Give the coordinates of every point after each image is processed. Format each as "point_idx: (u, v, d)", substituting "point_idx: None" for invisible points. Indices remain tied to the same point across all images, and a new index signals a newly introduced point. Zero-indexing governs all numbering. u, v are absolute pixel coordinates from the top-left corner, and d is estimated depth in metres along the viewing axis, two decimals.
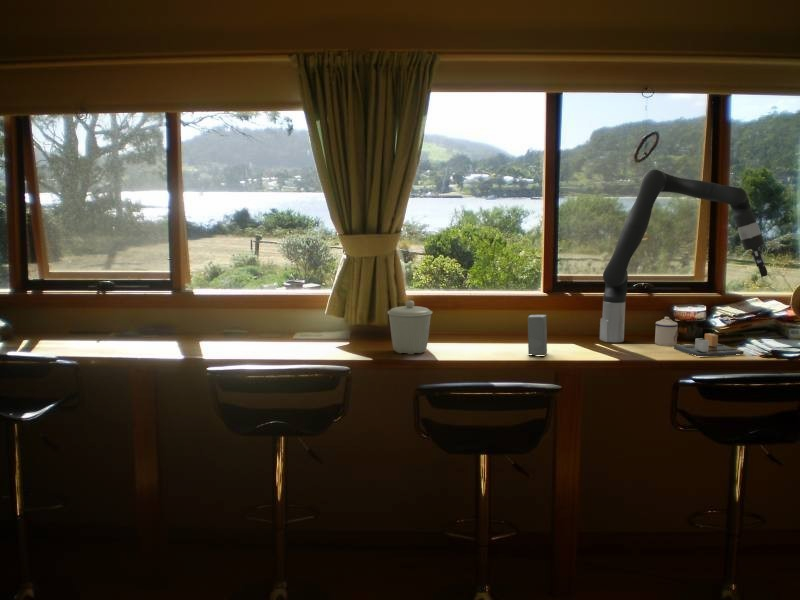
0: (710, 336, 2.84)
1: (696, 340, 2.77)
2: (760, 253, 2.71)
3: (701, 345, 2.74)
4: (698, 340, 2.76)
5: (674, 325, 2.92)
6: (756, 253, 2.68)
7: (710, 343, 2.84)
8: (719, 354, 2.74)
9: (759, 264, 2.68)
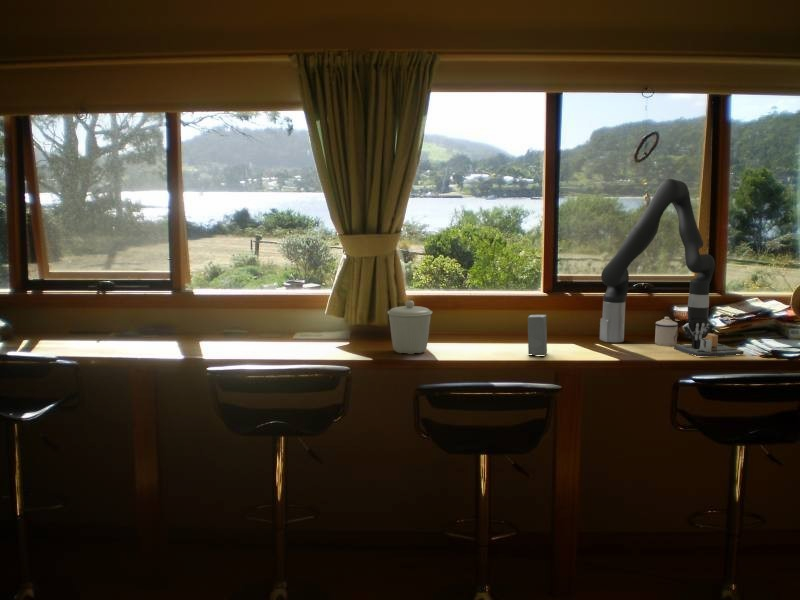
0: (710, 336, 2.84)
1: None
2: (694, 326, 2.73)
3: (704, 345, 2.74)
4: (701, 340, 2.76)
5: (674, 325, 2.92)
6: (683, 329, 2.73)
7: None
8: (719, 354, 2.74)
9: (689, 337, 2.74)
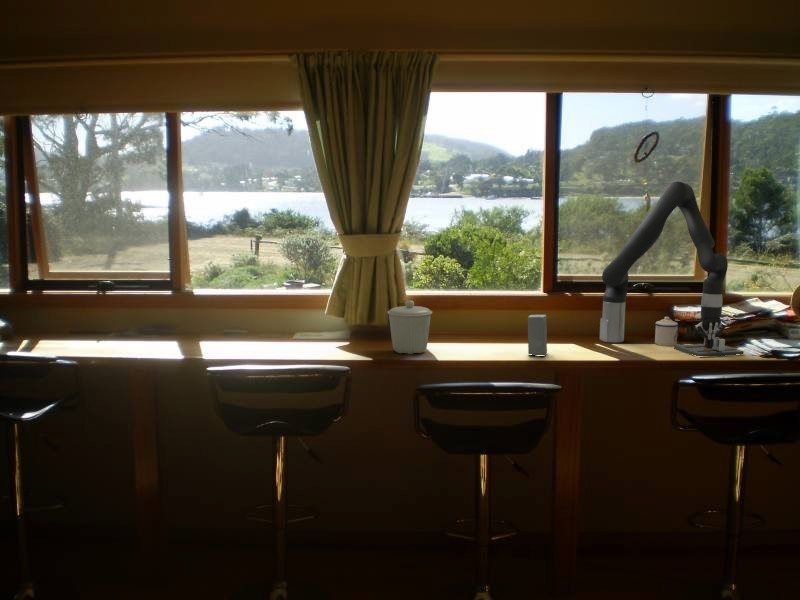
0: None
1: None
2: (708, 325, 2.74)
3: (717, 344, 2.76)
4: (714, 339, 2.77)
5: (674, 325, 2.92)
6: (697, 328, 2.74)
7: None
8: (719, 354, 2.74)
9: (702, 336, 2.76)
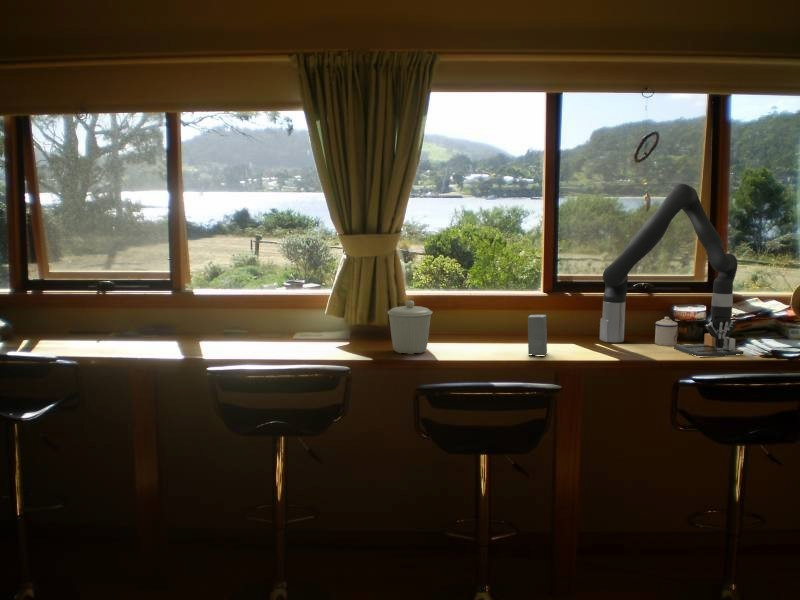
0: (710, 336, 2.84)
1: None
2: (718, 325, 2.75)
3: (727, 344, 2.77)
4: (724, 339, 2.78)
5: (674, 325, 2.92)
6: (707, 328, 2.75)
7: (710, 343, 2.84)
8: (719, 354, 2.74)
9: (712, 336, 2.77)
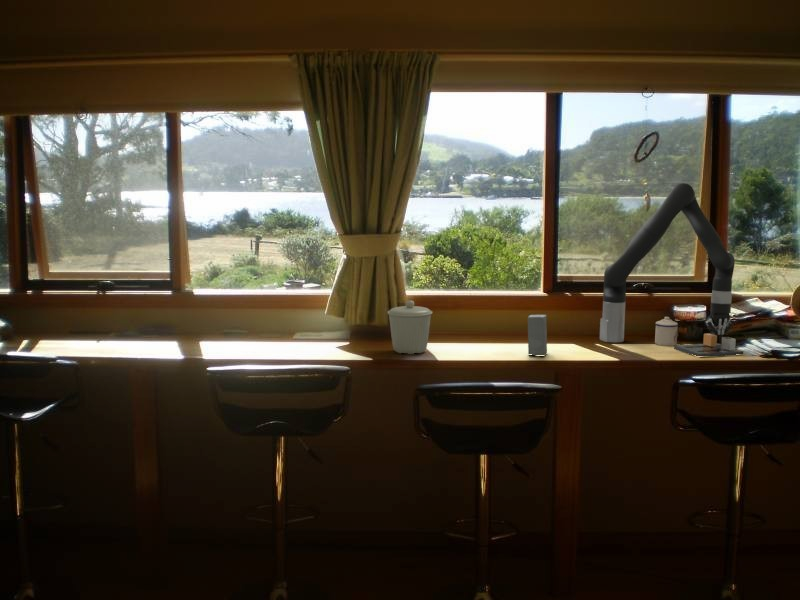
0: (709, 336, 2.84)
1: (723, 339, 2.80)
2: (717, 321, 2.84)
3: (728, 344, 2.77)
4: (725, 339, 2.78)
5: (674, 325, 2.92)
6: (707, 324, 2.85)
7: (709, 343, 2.84)
8: (719, 354, 2.74)
9: (712, 332, 2.86)
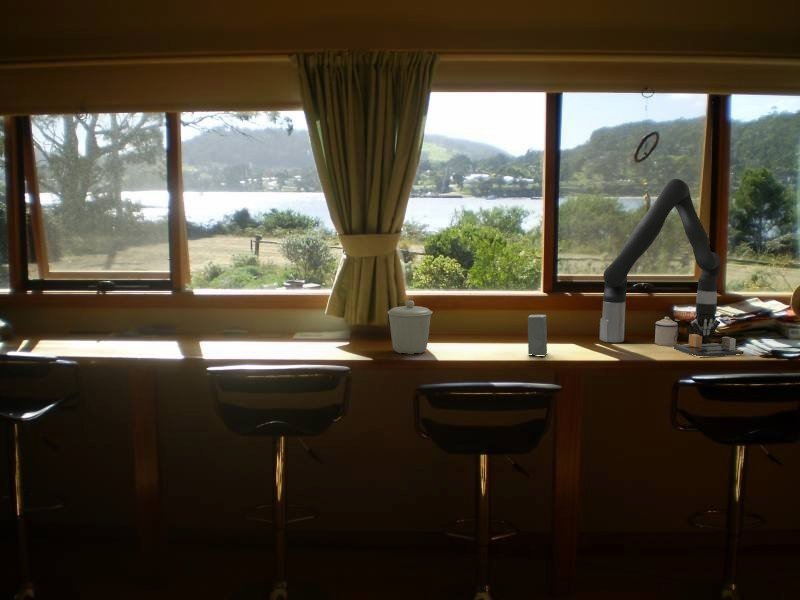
0: (694, 337, 2.83)
1: (723, 339, 2.80)
2: (703, 322, 2.83)
3: (728, 344, 2.77)
4: (725, 339, 2.78)
5: (674, 325, 2.92)
6: (692, 324, 2.83)
7: (694, 344, 2.83)
8: (719, 354, 2.74)
9: (697, 332, 2.84)
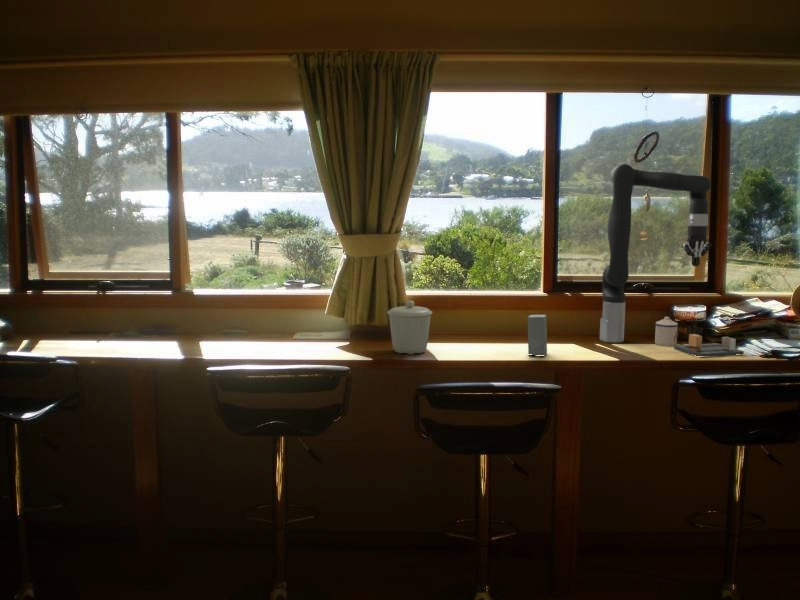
0: (694, 337, 2.83)
1: (723, 339, 2.80)
2: (694, 244, 2.91)
3: (728, 344, 2.77)
4: (725, 339, 2.78)
5: (674, 325, 2.92)
6: (684, 247, 2.92)
7: (694, 344, 2.83)
8: (719, 354, 2.74)
9: (689, 255, 2.93)
